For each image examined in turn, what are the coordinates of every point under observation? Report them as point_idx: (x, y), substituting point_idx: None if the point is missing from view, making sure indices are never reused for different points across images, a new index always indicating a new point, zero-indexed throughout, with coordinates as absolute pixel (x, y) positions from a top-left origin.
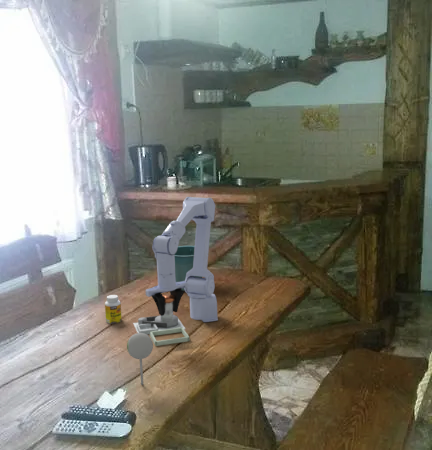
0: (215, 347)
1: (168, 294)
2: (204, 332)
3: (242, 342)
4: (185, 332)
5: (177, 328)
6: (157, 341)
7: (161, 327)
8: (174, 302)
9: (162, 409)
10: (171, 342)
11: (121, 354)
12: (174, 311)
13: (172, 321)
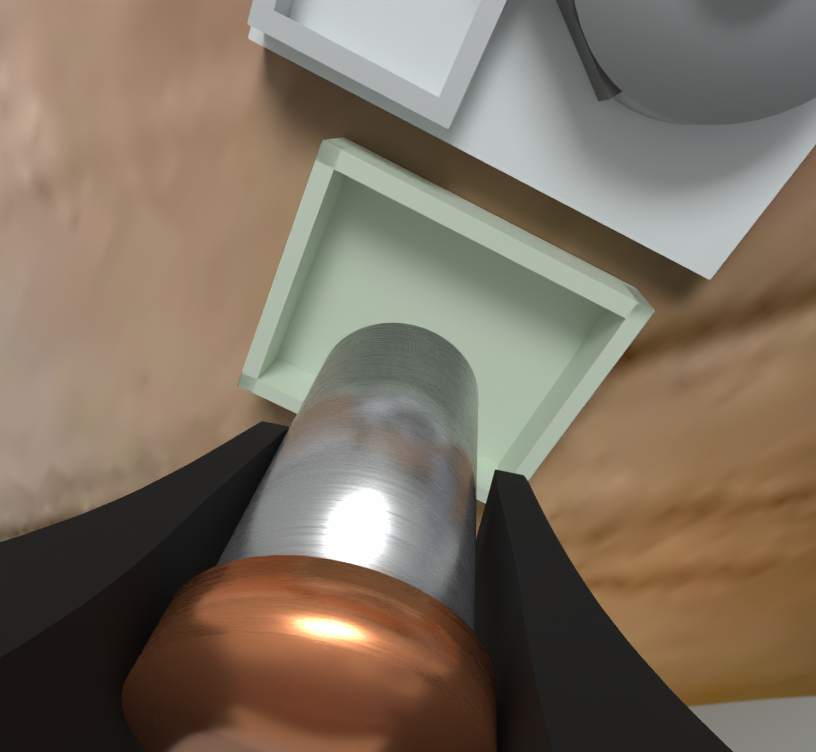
0: None
1: (442, 701)
2: (789, 402)
3: (754, 683)
4: (559, 428)
5: (591, 298)
6: (257, 390)
7: (571, 32)
8: (491, 647)
9: None
10: None
11: (17, 236)
12: (481, 522)
13: (698, 120)
